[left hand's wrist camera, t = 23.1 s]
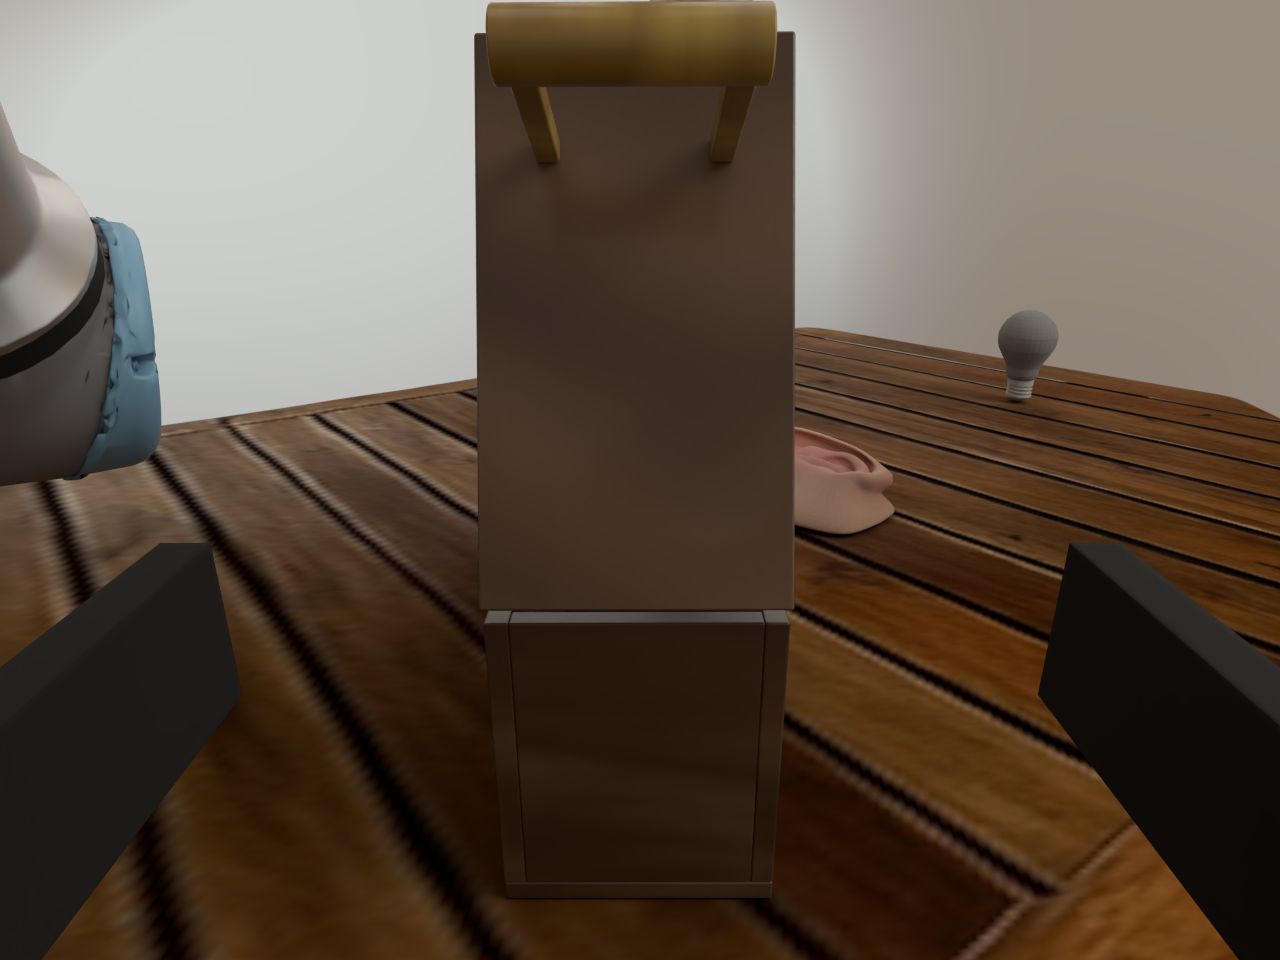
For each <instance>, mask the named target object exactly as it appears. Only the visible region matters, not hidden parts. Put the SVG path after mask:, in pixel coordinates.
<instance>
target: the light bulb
mask: <svg viewBox="0 0 1280 960" xmlns="http://www.w3.org/2000/svg"><path fill="white" fill-rule="evenodd" d="M1057 342H1058V330H1057V327H1056V325H1055V323H1054V322H1053V320H1052V319H1051V318H1050V317H1049V316H1048V315H1046V314H1044V313H1042V312H1039V311H1036V310H1026V311H1021V312H1018V313H1016V314H1014V315H1012V316H1011V317H1010V318H1009V319H1007V320H1006V321H1005V323H1004V324H1003V325H1002V327H1001V329H1000V331H999V336H998V344H999V348H1000V350H1001V353H1002V355H1003V357H1004V360H1005V363H1006V373H1007V376H1008V382H1007V383H1008V384H1007V386H1008V387H1007V391H1006V395H1007V396H1008V397H1010V398H1011V399H1013V400H1025V399H1027V398H1030V397H1031V394H1030V393H1032V392H1031V391H1030V390H1032V388H1031V386H1033V382H1034V379H1035V378H1036V377H1037V375H1038V373H1039V369H1040V367H1041V366H1042V364H1043V363H1044V362H1045V361H1046V359H1047V358H1048V357H1049V356H1050V354H1051V353H1052V352H1053V351H1054V349H1055V347H1056V345H1057Z"/></svg>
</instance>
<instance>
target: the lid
mask: <svg viewBox="0 0 1280 960" xmlns="http://www.w3.org/2000/svg"><path fill="white" fill-rule="evenodd" d="M474 61H475V184H476V309H477V433H478V557H479V609H480V610H481V611H709V610H793V609H794V484H795V32H793V31H789V32H788V31H785V32H777V11H776V6H775V3H774V2H773V1H637V2H635V1H634V2H491V3H489V4H488V7H487V12H486V33H476V34H475V36H474Z"/></svg>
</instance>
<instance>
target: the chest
mask: <svg viewBox="0 0 1280 960" xmlns="http://www.w3.org/2000/svg"><path fill="white" fill-rule="evenodd" d="M483 626H484V638H485V650H486V662H487V674H488V686H489V699H490V711H491V723H492V735H493V747H494V759H495V772H496V784H497V796H498V808H499V820H500V833H501V845H502V857H503V869H504V880H505V891H506V897H507V898H770V897H771V894H772V880H773V867H774V852H775V838H776V823H777V809H778V794H779V780H780V765H781V751H782V736H783V722H784V707H785V693H786V678H787V664H788V649H789V634H790V622H789V619H788V616H787V613H786V610H709V611H488V613H487V616H486V619H485V622H484V625H483Z"/></svg>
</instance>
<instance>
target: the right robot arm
mask: <svg viewBox="0 0 1280 960" xmlns="http://www.w3.org/2000/svg"><path fill="white" fill-rule="evenodd" d="M650 1H754V0H650Z"/></svg>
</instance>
